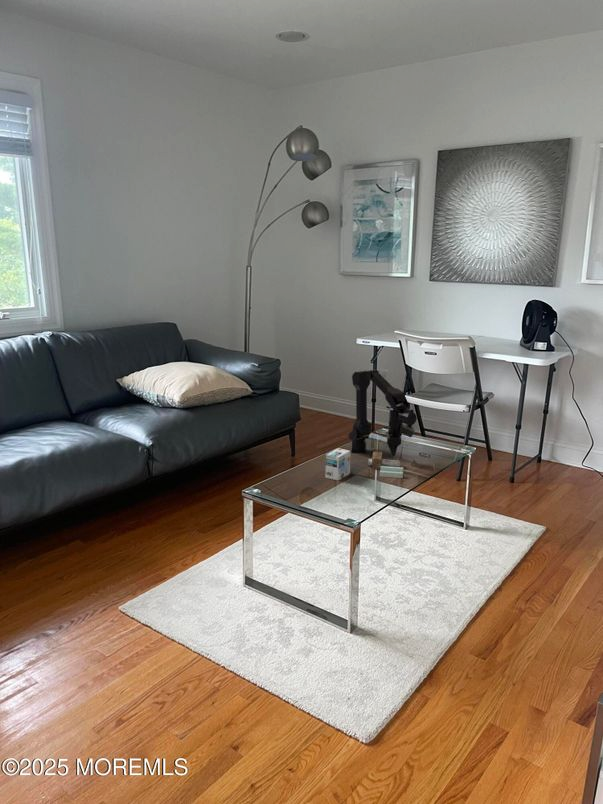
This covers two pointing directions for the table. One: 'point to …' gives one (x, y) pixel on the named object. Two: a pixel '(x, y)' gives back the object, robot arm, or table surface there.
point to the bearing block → (376, 460)
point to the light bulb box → (338, 464)
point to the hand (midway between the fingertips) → (393, 452)
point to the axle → (386, 463)
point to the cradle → (391, 472)
